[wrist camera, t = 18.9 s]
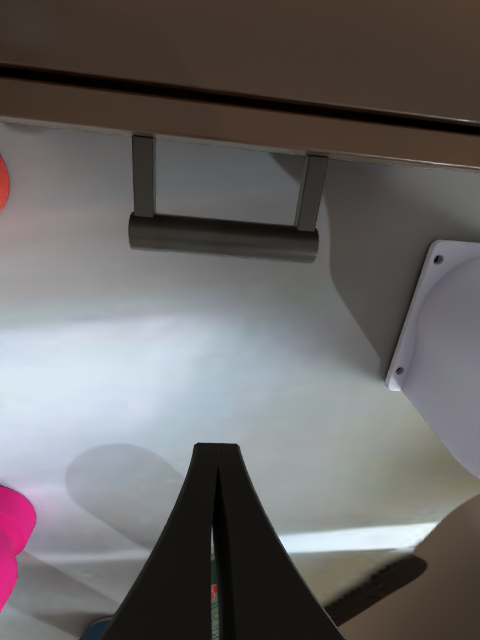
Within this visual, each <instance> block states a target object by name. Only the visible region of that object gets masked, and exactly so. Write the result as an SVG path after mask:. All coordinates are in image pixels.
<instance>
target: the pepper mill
mask: <svg viewBox="0 0 480 640" xmlns="http://www.w3.org/2000/svg"><path fill="white" fill-rule="evenodd" d="M35 524H36V513H35V510H34V507H33V506H32V505H31V503H30V502H29V501H28V500H27V499H26V498H24V497H23V496H22V495H21V494H19V493H17V492H15V491H13V490H11V489H9V488H6V487H3V486H0V612H1V610H2V608H3V607H4V605H5V603H6V601H7V599H8V598H9V596H10V594H11V592H12V591H13V589H14V586H15V583H16V580H17V576H18V573H17V561H16V557H15V556H16V555H18V554H19V553H20V552H21V551H22V550H23V549H24V547H25V545H26V543H27V541H28V539H29V537H30V535H31V533H32V531H33V529H34V527H35Z"/></svg>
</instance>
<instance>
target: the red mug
mask: <svg viewBox="0 0 480 640" xmlns="http://www.w3.org/2000/svg"><path fill="white" fill-rule="evenodd" d="M8 194H9V176H8V172H7V169H6V166H5V163H4V161H3V159H2V157H1V155H0V211H1V209H2V208H3V207H4V205H5V203H6V201H7V198H8Z"/></svg>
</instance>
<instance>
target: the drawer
mask: <svg viewBox="0 0 480 640" xmlns="http://www.w3.org/2000/svg"><path fill="white" fill-rule="evenodd" d="M26 74H27V79H24V78H16V77H8V76H0V121H4V122H11V123H18V124H25V125H32V126H40V127H49V128H58V129H67V130H76V131H85V132H94V133H103V134H112V135H121V136H130V137H132V158H133V192H134V211H133V212H131V215H130V218H129V226H128V236H129V244H130V247H131V249H133V250H144V251H157V252H170V253H182V254H195V255H208V256H220V257H233V258H246V259H259V260H271V261H284V262H297V263H309V264H310V263H313V262H314V260H315V258H316V255H317V251H318V245H319V234H318V230H317V228H315V227H316V221H317V216H318V211H319V205H320V200H321V194H322V189H323V184H324V178H325V173H326V168H327V162H328V158H329V159H338V160H347V161H356V162H365V163H374V164H383V165H392V166H401V167H414V168H426V169H439V170H452V171H464V172H477V173H480V135H478V134H470V133H462V132H454V131H446V130H438V129H429V128H421V127H419V125H420V121H421V120H419V119H411V118H403V117H395V116H387V115H379V114H371V113H363V112H355V111H347V110H339V109H331V108H323V107H315V106H307V105H300V104H292V103H284V102H276V101H268V100H260V99H252V98H244V97H236V96H228V95H220V94H212V93H204V92H196V91H188V90H180V89H172V88H164V87H156V86H149V85H141V84H133V83H125V82H117V81H109V80H101V79H93V78H85V77H77V76H69V75H61V74H53V73H45V72H37V71H29V70H26ZM156 139H157V140H166V141H175V142H184V143H193V144H202V145H211V146H220V147H229V148H238V149H247V150H256V151H265V152H275V153H284V154H293V155H302V156H305V159H304V165H303V171H302V177H301V184H300V190H299V196H298V202H297V209H296V215H295V221H294V226H293V225H282V224H271V223H260V222H248V221H237V220H226V219H215V218H204V217H193V216H181V215H170V214H159V213H156Z"/></svg>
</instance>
